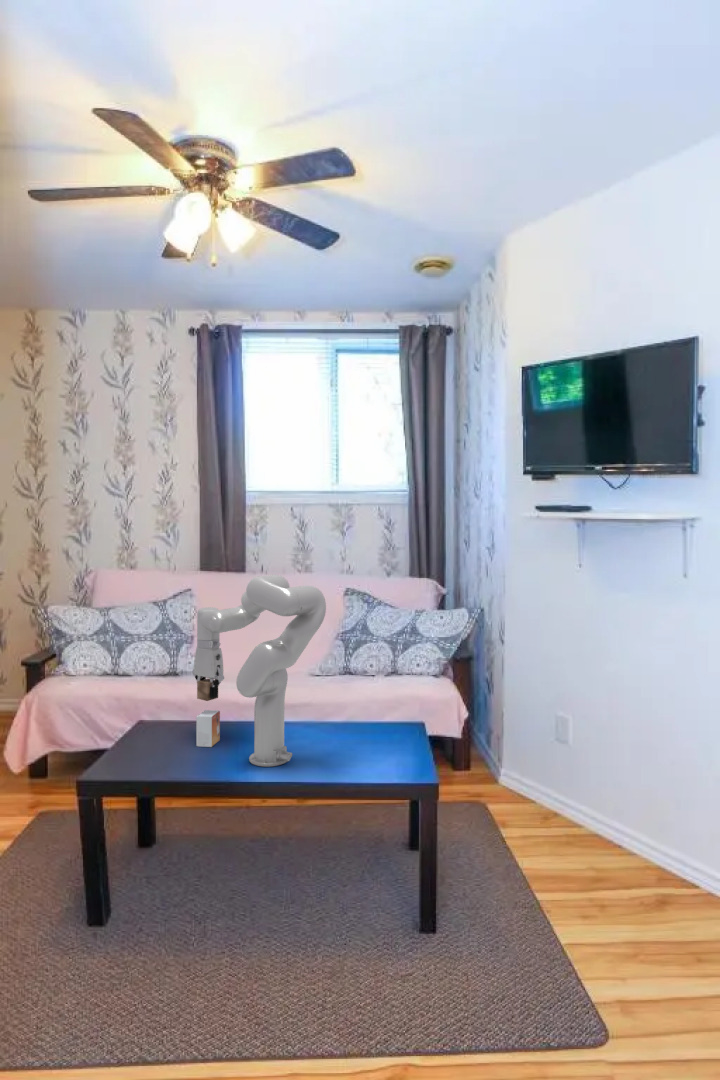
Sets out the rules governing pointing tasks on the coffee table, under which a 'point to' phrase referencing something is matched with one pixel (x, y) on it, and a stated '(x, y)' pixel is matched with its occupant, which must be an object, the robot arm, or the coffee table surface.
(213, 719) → the small box
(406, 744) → the coffee table surface
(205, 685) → the walnut block
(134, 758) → the coffee table surface
